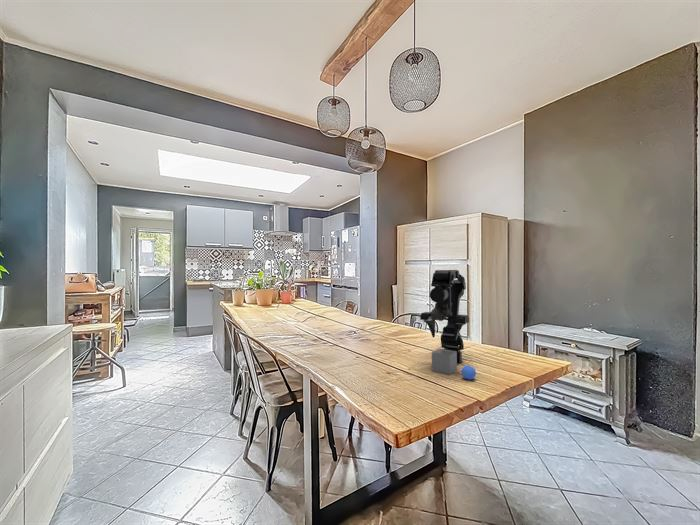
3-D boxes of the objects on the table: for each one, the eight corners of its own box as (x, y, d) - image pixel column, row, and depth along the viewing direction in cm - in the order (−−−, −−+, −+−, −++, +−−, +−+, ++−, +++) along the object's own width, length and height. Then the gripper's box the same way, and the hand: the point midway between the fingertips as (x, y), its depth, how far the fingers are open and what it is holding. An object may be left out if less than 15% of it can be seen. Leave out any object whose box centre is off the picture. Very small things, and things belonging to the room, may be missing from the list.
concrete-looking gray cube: (432, 371, 123) (431, 352, 123) (439, 366, 129) (439, 348, 129) (450, 374, 118) (449, 355, 119) (457, 369, 124) (456, 351, 124)
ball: (459, 379, 113) (459, 366, 113) (464, 375, 117) (464, 362, 117) (473, 382, 110) (473, 368, 110) (477, 378, 114) (477, 365, 114)
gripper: (414, 300, 124) (414, 339, 123) (459, 303, 112) (460, 345, 112) (425, 298, 133) (426, 334, 132) (469, 301, 121) (470, 340, 120)
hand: (444, 338), depth 124 cm, fingers open, 9 cm apart
